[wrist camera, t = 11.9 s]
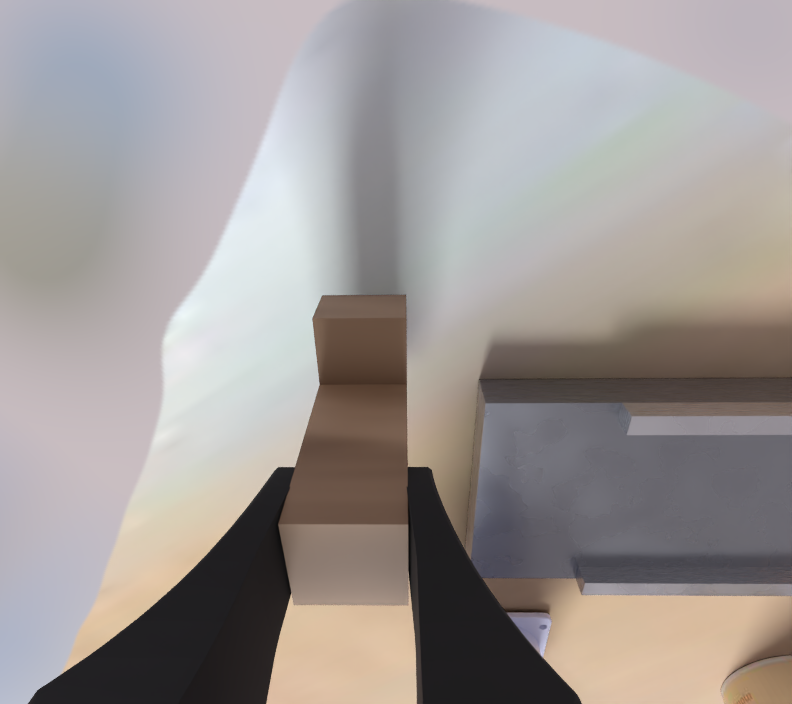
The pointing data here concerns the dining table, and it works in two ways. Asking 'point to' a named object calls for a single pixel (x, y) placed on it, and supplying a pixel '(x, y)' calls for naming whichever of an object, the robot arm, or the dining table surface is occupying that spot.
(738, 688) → the coffee cup
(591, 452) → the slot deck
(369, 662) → the dining table surface
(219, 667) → the robot arm
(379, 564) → the tan stepped block
